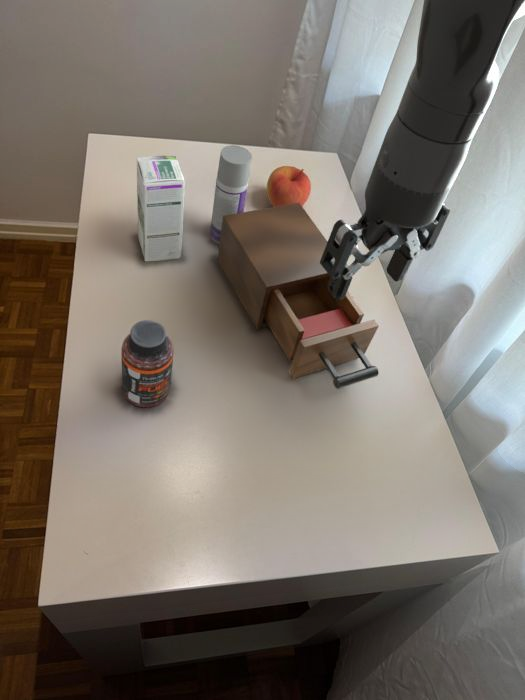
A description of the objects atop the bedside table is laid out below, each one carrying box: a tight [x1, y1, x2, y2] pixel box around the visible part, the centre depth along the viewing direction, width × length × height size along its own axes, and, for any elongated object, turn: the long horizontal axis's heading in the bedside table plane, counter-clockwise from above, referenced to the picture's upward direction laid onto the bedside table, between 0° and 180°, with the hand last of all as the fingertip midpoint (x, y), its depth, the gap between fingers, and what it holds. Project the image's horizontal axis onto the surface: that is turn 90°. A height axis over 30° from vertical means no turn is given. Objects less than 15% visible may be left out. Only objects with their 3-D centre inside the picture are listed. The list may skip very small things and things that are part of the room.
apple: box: [266, 165, 312, 207], centre depth 96 cm, size 7×7×8 cm
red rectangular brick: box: [298, 308, 352, 340], centre depth 78 cm, size 8×3×3 cm, turn 116°
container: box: [209, 144, 253, 245], centre depth 87 cm, size 5×5×15 cm
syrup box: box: [136, 155, 186, 262], centre depth 83 cm, size 6×6×14 cm
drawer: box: [264, 276, 379, 389], centre depth 78 cm, size 19×11×7 cm, turn 25°
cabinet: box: [216, 203, 334, 330], centre depth 84 cm, size 15×13×9 cm
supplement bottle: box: [120, 319, 174, 408], centre depth 68 cm, size 6×6×11 cm
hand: (365, 285), depth 66 cm, fingers open, 8 cm apart
